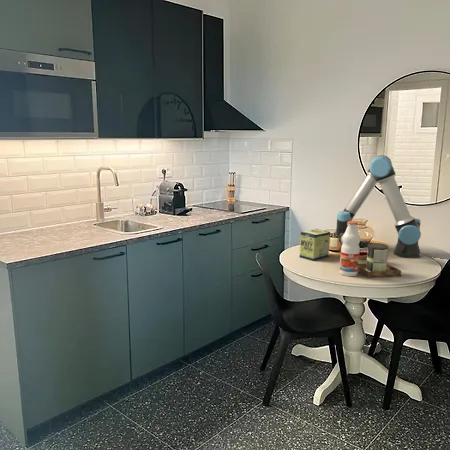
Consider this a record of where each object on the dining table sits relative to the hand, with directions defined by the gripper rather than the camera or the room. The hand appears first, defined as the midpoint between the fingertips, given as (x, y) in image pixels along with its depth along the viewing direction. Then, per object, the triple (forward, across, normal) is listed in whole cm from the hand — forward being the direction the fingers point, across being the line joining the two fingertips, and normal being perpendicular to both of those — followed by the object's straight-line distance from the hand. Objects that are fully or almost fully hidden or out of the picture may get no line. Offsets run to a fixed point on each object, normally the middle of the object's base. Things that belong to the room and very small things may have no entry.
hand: (369, 250), depth 248 cm
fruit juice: (+8, +16, -10) cm, 21 cm away
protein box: (-26, +20, -10) cm, 34 cm away
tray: (+9, 0, -10) cm, 13 cm away
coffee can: (+8, 0, -9) cm, 13 cm away
